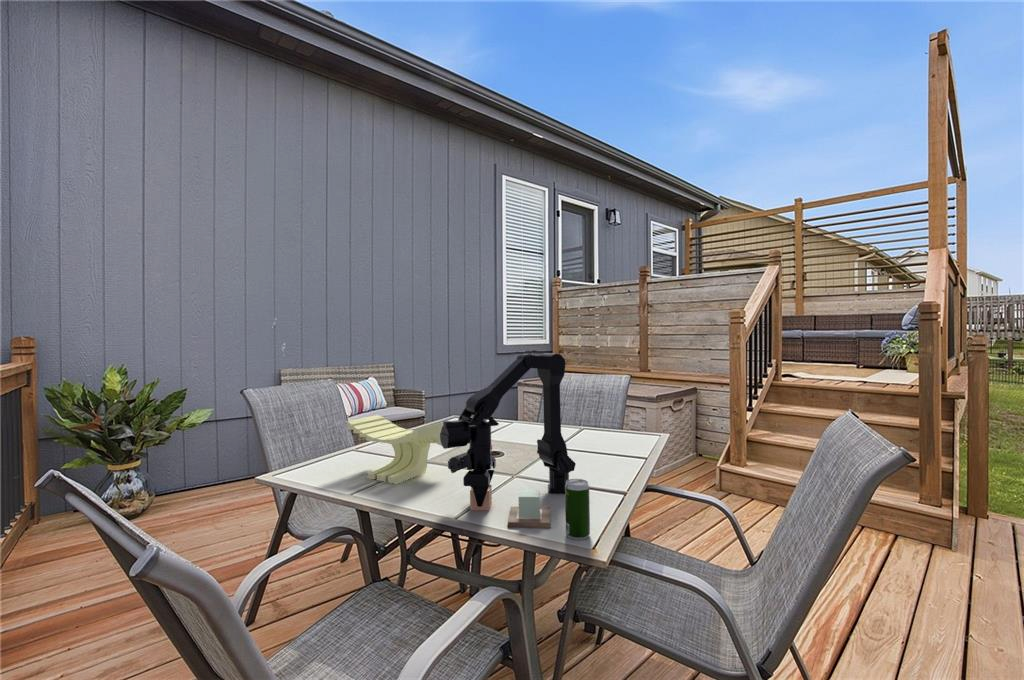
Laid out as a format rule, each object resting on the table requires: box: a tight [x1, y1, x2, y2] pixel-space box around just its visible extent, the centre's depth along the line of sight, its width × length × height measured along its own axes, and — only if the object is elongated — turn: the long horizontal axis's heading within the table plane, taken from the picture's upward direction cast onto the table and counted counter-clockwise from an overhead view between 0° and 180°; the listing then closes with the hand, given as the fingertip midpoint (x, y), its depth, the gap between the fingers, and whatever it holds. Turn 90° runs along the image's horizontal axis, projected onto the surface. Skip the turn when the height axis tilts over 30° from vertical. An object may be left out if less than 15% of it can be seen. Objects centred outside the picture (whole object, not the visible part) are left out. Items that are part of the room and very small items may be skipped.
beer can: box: [564, 478, 591, 541], centre depth 102 cm, size 5×5×12 cm
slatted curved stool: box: [346, 414, 444, 485], centre depth 151 cm, size 30×16×18 cm, turn 60°
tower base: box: [507, 506, 551, 529], centre depth 112 cm, size 10×10×1 cm
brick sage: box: [518, 489, 541, 518], centre depth 112 cm, size 5×5×5 cm
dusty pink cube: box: [469, 484, 493, 511], centre depth 121 cm, size 5×5×5 cm
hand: (481, 502), depth 121 cm, fingers closed on dusty pink cube, 5 cm apart
